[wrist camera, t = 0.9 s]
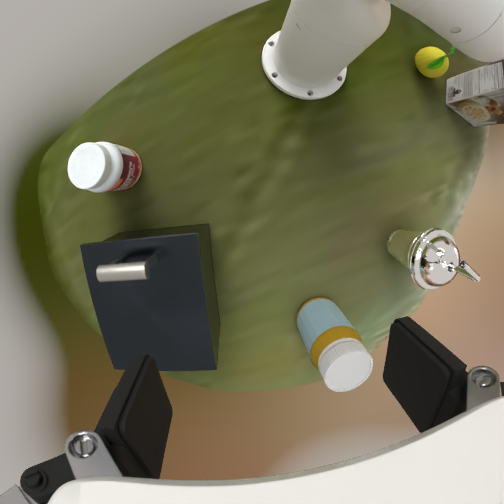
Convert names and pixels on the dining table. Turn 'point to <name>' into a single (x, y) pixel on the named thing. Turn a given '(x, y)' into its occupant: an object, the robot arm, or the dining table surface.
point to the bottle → (333, 345)
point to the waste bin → (206, 264)
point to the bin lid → (152, 300)
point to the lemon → (432, 61)
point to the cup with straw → (429, 256)
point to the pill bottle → (104, 167)
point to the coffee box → (478, 95)
